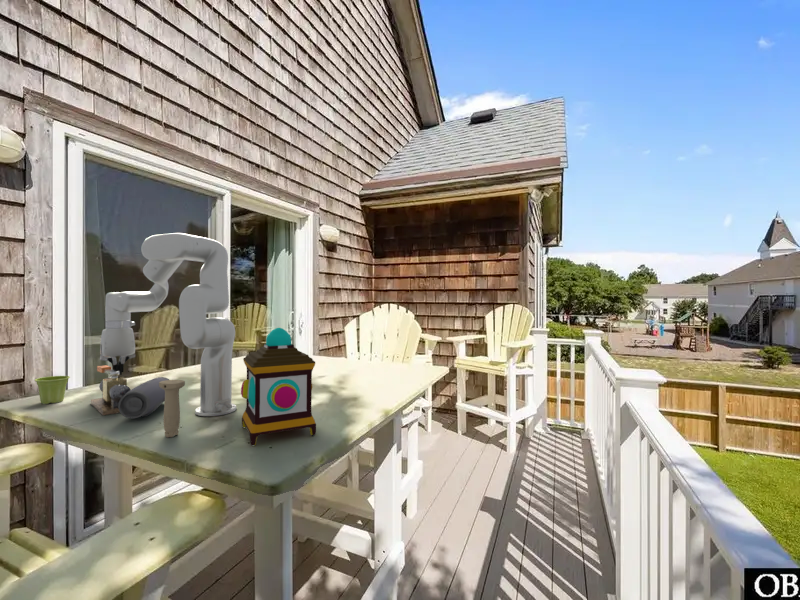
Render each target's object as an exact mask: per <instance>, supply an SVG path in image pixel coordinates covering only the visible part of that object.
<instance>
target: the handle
mask: <svg viewBox="0 0 800 600" xmlns="http://www.w3.org/2000/svg"><path fill="white" fill-rule="evenodd" d="M185 385H186V381H185V380H181V379H169V380H165V381H161V382H159V387H160V388H162V389H164V390H165V401H164V402H163V403H164V405H163V430H164V436H165V437H166V438H174V437H173V436H175V435H177V436H178V435H179V432H180V430H179V429H180V422H181V407H180V390H181V389H182V388H183V387H185ZM175 437H176V436H175Z"/></svg>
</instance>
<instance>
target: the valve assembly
mask: <svg viewBox="0 0 800 600" xmlns="http://www.w3.org/2000/svg"><path fill="white" fill-rule="evenodd" d="M127 383H128V380H127V378H126V377H124V376H119V375H116V376H111V377H106V378H103V379H102V380H101V381H100V383H99V386H98V387H99V391H101V392H102V394H101V396H102V397H99V398H93V399H90V404H91V405H92V407H94V409H96V410H97V411H98V413H99V414H101V416H107V415H115V414H119V413H120V411H119V409H118V404H119V401H120V399H121V398H122V397H123V396H124V395H125V394H126V393H127V392H129V391H130V390H132V389H131V388H130V387H129V386H128V384H127ZM120 414H121V413H120Z"/></svg>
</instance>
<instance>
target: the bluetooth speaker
mask: <svg viewBox="0 0 800 600" xmlns="http://www.w3.org/2000/svg"><path fill="white" fill-rule="evenodd" d="M165 380H170V378H168V377H164V376H159V377H154V378H152V379H149V380H147V381H145V382H142V383H140V384H139V385H137V386H135V387H134V388H132V389H131V390H130V391H129V392H127V393H126V394H125V395H124V396H123V397H122V398H121V399H120V401H119V404H118V409H119V411H120V414H121V415H122V416H123V417H125V418H127V419H137V418H141V416H142V417H147V416H149V415H151V414H153V413H154V412H156V410H157V409H158V408H159V407H160V406H161V405H162V404H163V403H165V390H164V389H162V388H160V387H159V382H161V381H165ZM153 411H154V412H153Z"/></svg>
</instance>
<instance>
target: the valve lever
mask: <svg viewBox="0 0 800 600" xmlns="http://www.w3.org/2000/svg"><path fill="white" fill-rule="evenodd" d="M96 372H98V373H100V374H103V373H104V374H107V375H110V377H112V376H116V375H118V376H120V375H119V371H115V370H113V368H112V366H109V365H97V366H96Z"/></svg>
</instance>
